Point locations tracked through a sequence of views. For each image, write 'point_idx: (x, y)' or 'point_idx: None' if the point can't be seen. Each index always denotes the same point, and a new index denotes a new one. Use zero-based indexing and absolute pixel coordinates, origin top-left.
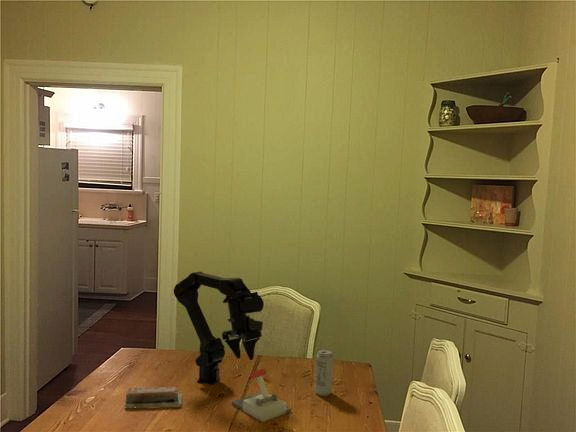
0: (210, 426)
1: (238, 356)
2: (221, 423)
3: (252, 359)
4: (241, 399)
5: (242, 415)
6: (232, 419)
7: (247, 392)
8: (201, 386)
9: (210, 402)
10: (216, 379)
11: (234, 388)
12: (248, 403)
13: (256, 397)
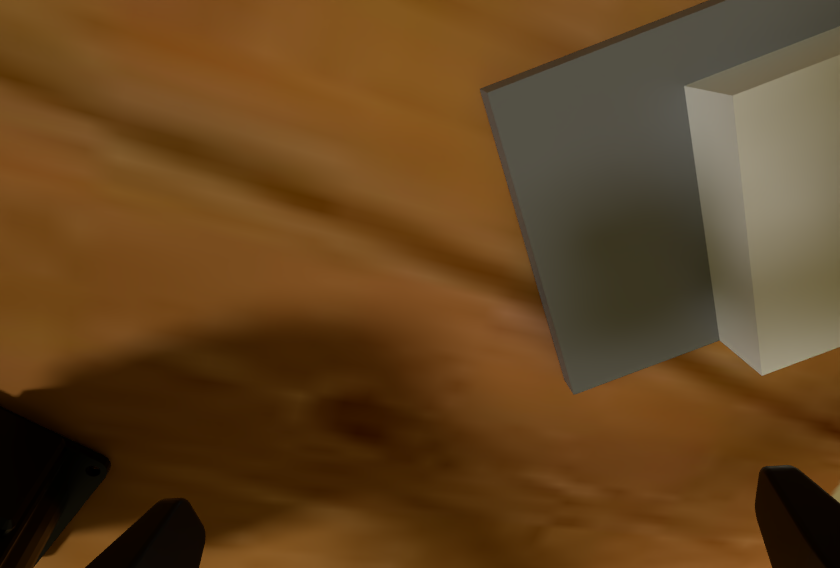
0: None
1: (182, 559)
2: None
3: (791, 477)
4: (571, 314)
5: None
6: (785, 416)
7: (364, 191)
8: None
9: (473, 505)
10: (54, 448)
11: (232, 290)
12: (836, 344)
13: (778, 246)
